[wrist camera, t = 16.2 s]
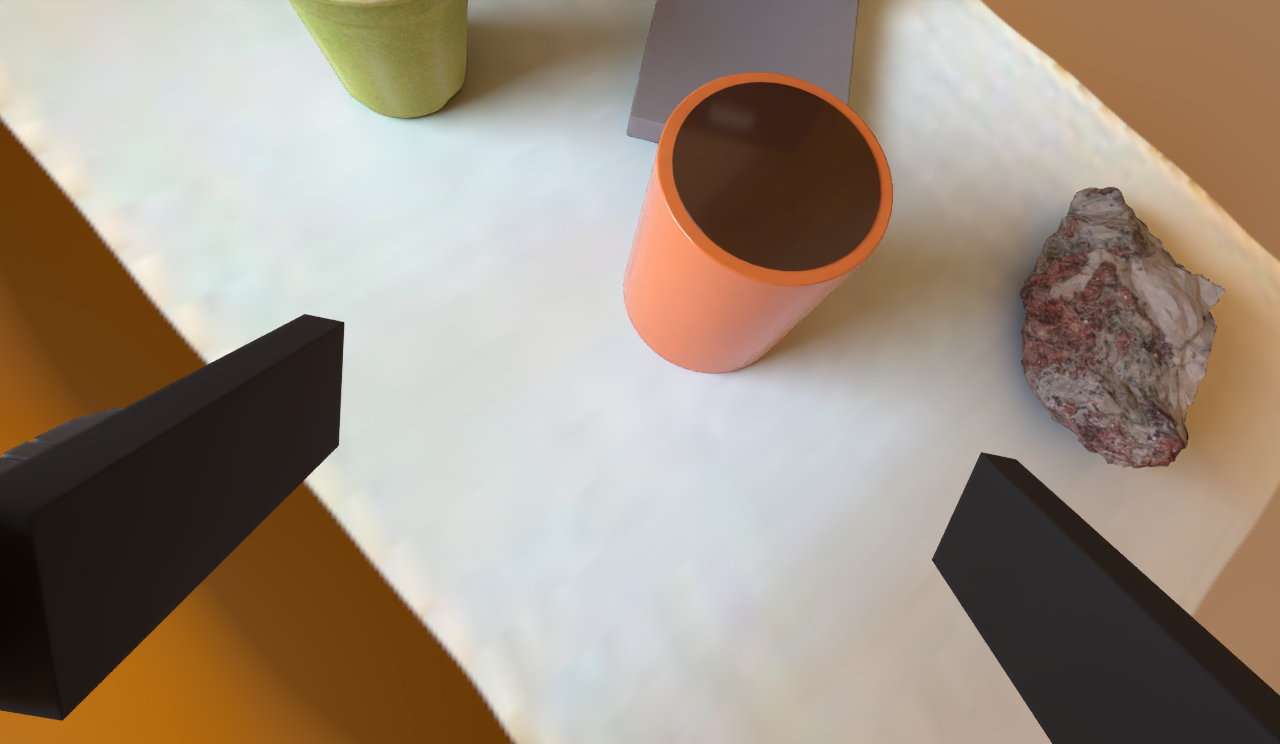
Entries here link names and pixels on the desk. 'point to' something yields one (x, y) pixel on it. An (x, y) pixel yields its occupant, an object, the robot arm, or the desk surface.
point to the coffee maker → (739, 50)
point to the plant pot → (392, 50)
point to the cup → (751, 218)
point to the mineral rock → (1116, 333)
